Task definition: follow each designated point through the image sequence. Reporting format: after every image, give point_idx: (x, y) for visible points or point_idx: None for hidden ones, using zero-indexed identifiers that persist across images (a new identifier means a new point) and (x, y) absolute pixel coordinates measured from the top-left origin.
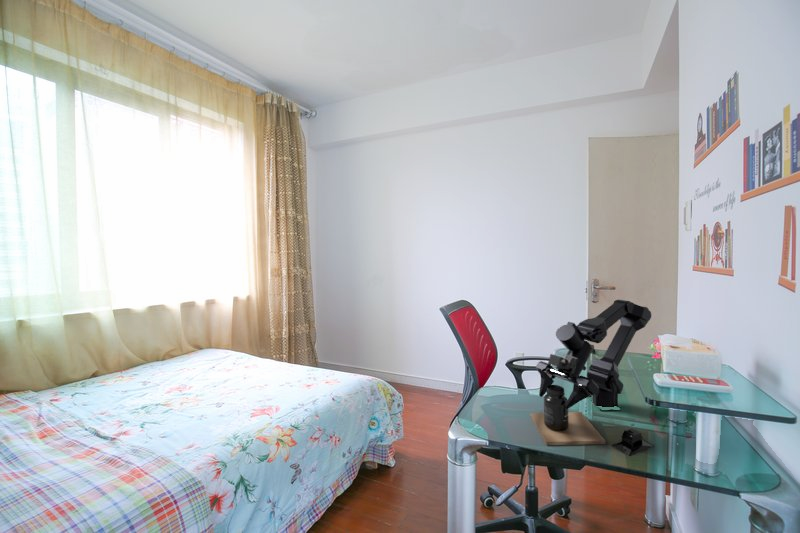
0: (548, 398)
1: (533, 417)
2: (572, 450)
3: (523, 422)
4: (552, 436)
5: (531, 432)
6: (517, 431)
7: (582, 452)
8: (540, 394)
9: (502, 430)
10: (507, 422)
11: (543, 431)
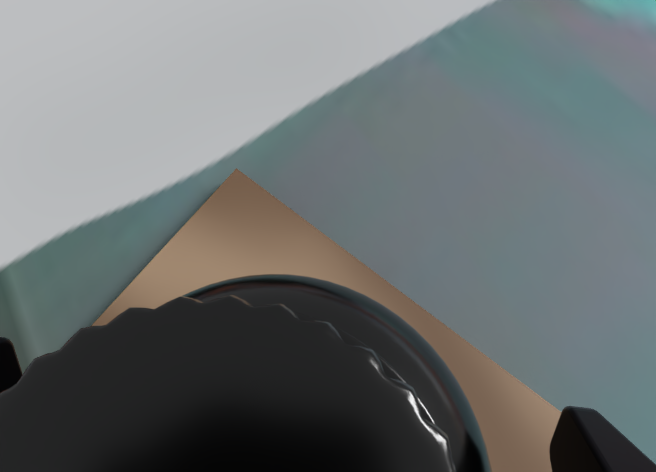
0: (312, 314)
1: (548, 411)
2: (84, 259)
3: (564, 312)
4: (242, 261)
5: (415, 235)
6: (491, 169)
7: (22, 290)
8: (574, 419)
9: (567, 101)
10: (640, 211)
11: (332, 270)
